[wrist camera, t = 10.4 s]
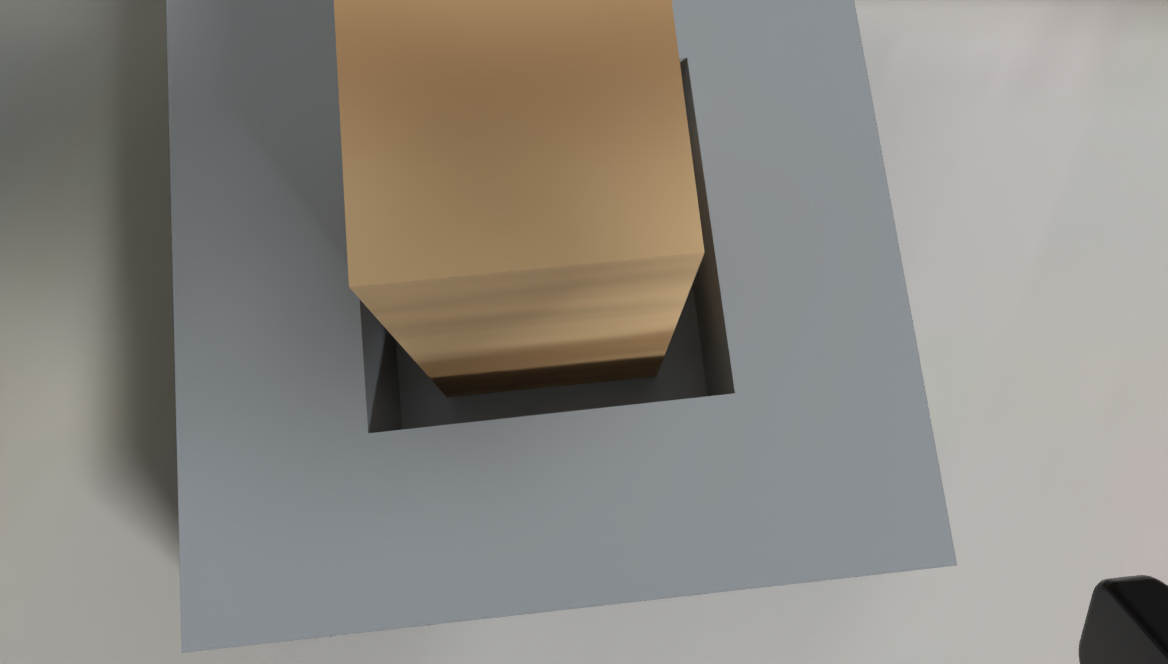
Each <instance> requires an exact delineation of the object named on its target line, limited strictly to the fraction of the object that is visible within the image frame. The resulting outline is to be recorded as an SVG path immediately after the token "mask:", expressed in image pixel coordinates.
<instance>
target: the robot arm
mask: <svg viewBox="0 0 1168 664" xmlns="http://www.w3.org/2000/svg"><path fill="white" fill-rule="evenodd" d="M1079 660H1080V664H1168V585H1166V584H1165V583H1163V582H1161V581H1160V580H1158V579H1155V578H1153V577H1150V576H1146V575H1137V576H1128V577H1120V578H1111V579H1105V580H1102V581H1101V582H1100V583H1099V584H1098V585H1097V586H1096V587H1095V589H1094V591H1093V594H1092V598H1091V602H1090V605H1089V609H1088V613H1087V617H1086V620H1085V624H1084V628H1083V632H1082V635H1081V639H1080V643H1079Z"/></svg>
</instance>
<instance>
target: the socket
mask: <svg viewBox="0 0 1168 664" xmlns="http://www.w3.org/2000/svg"><path fill="white" fill-rule="evenodd" d="M672 7H673V14H674V22H675V30H676V37H677V45H678V52H679V60H680V68H681V75H682V83H683V91H684V98H685V106H686V114H687V121H688V129H689V137H690V144H691V152H692V160H693V167H694V175H695V183H696V190H697V198H698V206H699V213H700V221H701V229H702V236H703V244H704V251H705V253H704V255H703V258H702V260H701V263H700V265H699V268H698V271H697V273H696V276H695V278H694V281H693V284H692V286H691V289H690V291H689V294H688V296H687V299H686V302H685V304H684V307H683V309H682V312H681V315H680V317H679V320H678V322H677V325H676V327H675V330H674V333H673V335H672V338H671V340H670V343H669V345H668V348H667V351H666V353H665V356H664V358H663V361H662V364H661V366H660V369H659V371H658V374H657V376H656V377H647V378H637V379H627V380H617V381H607V382H597V383H586V384H576V385H566V386H556V387H546V388H536V389H526V390H516V391H506V392H496V393H486V394H476V395H466V396H456V397H446V396H445V395H444V393H443V392H442V391H441V390H440V389H439V388H438V387H437V386H436V384H435V383H434V382H433V381H432V380H431V379H430V378H429V377H428V375H427V374H426V373H425V372H424V371H423V370H422V369H421V368H420V366H419V365H418V364H417V363H416V362H415V361H414V360H413V359H412V357H411V356H410V355H409V354H408V353H407V352H406V351H405V350H404V348H403V347H402V346H401V345H400V344H399V343H398V342H397V341H396V339H395V338H394V337H393V336H392V335H391V334H390V333H389V332H388V330H387V329H386V328H385V327H384V326H383V325H382V324H381V323H380V321H379V320H378V319H377V318H376V317H375V316H374V315H373V313H372V312H371V311H370V310H369V309H368V308H367V307H366V306H365V304H364V303H363V302H362V301H361V300H360V299H359V298H358V297H357V295H356V294H355V293H354V292H353V291H352V290H351V289H350V288H349V278H348V260H347V241H346V222H345V203H344V184H343V165H342V146H341V128H340V109H339V90H338V71H337V52H336V33H335V14H334V0H166V24H167V65H168V106H169V147H170V188H171V229H172V270H173V312H174V353H175V394H176V435H177V476H178V517H179V558H180V599H181V640H182V653H185V652H194V651H203V650H212V649H221V648H230V647H238V646H247V645H256V644H265V643H274V642H283V641H292V640H300V639H309V638H318V637H327V636H336V635H345V634H354V633H362V632H371V631H380V630H389V629H398V628H407V627H416V626H424V625H433V624H442V623H451V622H460V621H469V620H478V619H486V618H495V617H504V616H513V615H522V614H531V613H540V612H548V611H557V610H566V609H575V608H584V607H593V606H602V605H610V604H619V603H628V602H637V601H646V600H655V599H663V598H672V597H681V596H690V595H699V594H708V593H717V592H725V591H734V590H743V589H752V588H761V587H770V586H779V585H787V584H796V583H805V582H814V581H823V580H832V579H841V578H849V577H858V576H867V575H876V574H885V573H894V572H903V571H911V570H920V569H929V568H938V567H947V566H956V565H957V562H956V557H955V551H954V546H953V540H952V535H951V529H950V524H949V518H948V513H947V507H946V502H945V496H944V491H943V485H942V480H941V474H940V469H939V463H938V458H937V452H936V447H935V441H934V436H933V431H932V425H931V420H930V414H929V409H928V403H927V398H926V392H925V387H924V381H923V376H922V370H921V365H920V359H919V354H918V348H917V343H916V337H915V332H914V326H913V321H912V315H911V310H910V304H909V299H908V293H907V288H906V283H905V277H904V272H903V266H902V261H901V255H900V250H899V244H898V239H897V233H896V228H895V222H894V217H893V211H892V206H891V200H890V195H889V189H888V184H887V178H886V173H885V167H884V162H883V156H882V151H881V146H880V140H879V135H878V129H877V124H876V118H875V113H874V107H873V102H872V96H871V91H870V85H869V80H868V74H867V69H866V63H865V58H864V52H863V47H862V41H861V36H860V30H859V25H858V19H857V14H856V8H855V3H854V0H672Z"/></svg>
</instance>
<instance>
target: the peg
mask: <svg viewBox="0 0 1168 664" xmlns="http://www.w3.org/2000/svg"><path fill="white" fill-rule="evenodd" d="M334 14H335V33H336V52H337V71H338V90H339V109H340V128H341V146H342V165H343V184H344V203H345V222H346V241H347V260H348V278H349V288H350V289H351V290H352V291H353V292H354V293H355V294H356V295H357V297H358V298H359V299H360V300H361V301H362V302H363V303H364V304H365V306H366V307H367V308H368V309H369V310H370V311H371V312H372V313H373V315H374V316H375V317H376V318H377V319H378V320H379V321H380V323H381V324H382V325H383V326H384V327H385V328H386V329H387V330H388V332H389V333H390V334H391V335H392V336H393V337H394V338H395V339H396V341H397V342H398V343H399V344H400V345H401V346H402V347H403V348H404V350H405V351H406V352H407V353H408V354H409V355H410V356H411V357H412V359H413V360H414V361H415V362H416V363H417V364H418V365H419V366H420V368H421V369H422V370H423V371H424V372H425V373H426V374H427V375H428V377H429V378H430V379H431V380H432V381H433V382H434V383H435V384H436V386H437V387H438V388H439V389H440V390H441V391H442V392H443V393H444V395H445V396H446V397H456V396H466V395H476V394H486V393H496V392H506V391H516V390H526V389H536V388H546V387H556V386H566V385H576V384H586V383H597V382H607V381H617V380H627V379H637V378H647V377H656V376H657V374H658V371H659V369H660V366H661V364H662V361H663V358H664V356H665V353H666V351H667V348H668V345H669V343H670V340H671V338H672V335H673V333H674V330H675V327H676V325H677V322H678V320H679V317H680V315H681V312H682V309H683V307H684V304H685V302H686V299H687V296H688V294H689V291H690V289H691V286H692V284H693V281H694V278H695V276H696V273H697V271H698V268H699V265H700V263H701V260H702V258H703V255H704V253H705V251H704V244H703V236H702V229H701V221H700V213H699V206H698V198H697V190H696V183H695V175H694V167H693V160H692V152H691V144H690V137H689V129H688V121H687V114H686V106H685V98H684V91H683V83H682V75H681V68H680V60H679V52H678V45H677V37H676V30H675V22H674V14H673V7H672V0H334Z"/></svg>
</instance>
